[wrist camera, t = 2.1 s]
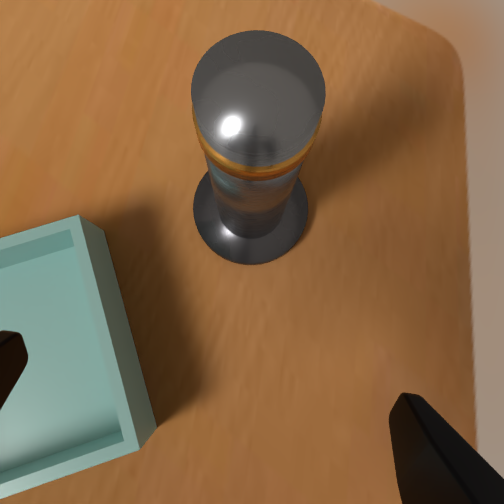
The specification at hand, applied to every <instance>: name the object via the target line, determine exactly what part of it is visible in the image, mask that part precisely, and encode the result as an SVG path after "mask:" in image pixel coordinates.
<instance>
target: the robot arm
mask: <svg viewBox="0 0 504 504" xmlns="http://www.w3.org/2000/svg"><path fill="white" fill-rule="evenodd" d="M27 363H28V352H27V349H26V346H25V343H24V340H23V336H22V335H21V334H20V333H19V332H14V331H8V330H2V331H0V410H1V409H2V407H3V405H4V403H5V402H6V400H7V398H8V397H9V395H10V393H11V391H12V390H13V388H14V386H15V385H16V383H17V381H18V379H19V378H20V376H21V374H22V373H23V371H24V369H25V367H26V365H27ZM389 427H390V434H391V441H392V449H393V456H394V463H395V470H396V477H397V483H398V488H399V492H400V496H401V500H402V504H504V479H503V478H502V477H501V476H500V475H499V474H498V473H497V472H496V471H495V470H494V469H493V468H492V467H491V466H490V465H489V464H488V463H487V462H486V461H485V460H484V459H483V458H482V457H481V456H480V455H479V454H478V453H477V452H476V451H475V450H474V449H473V448H472V447H471V446H470V445H469V444H468V443H467V442H466V441H465V440H464V439H463V438H462V437H461V436H460V435H459V434H458V433H457V432H456V431H455V430H454V429H453V428H452V427H451V426H450V425H449V424H448V423H447V422H446V421H445V420H444V419H443V418H442V417H441V416H440V415H439V414H438V413H437V412H436V411H435V410H434V409H433V408H432V407H431V406H430V405H429V404H428V403H427V402H426V401H425V400H424V399H423V398H422V397H421V396H420V395H417V394H411V393H402V394H400V396H399V397H398V399H397V401H396V403H395V404H394V406H393V408H392V410H391V411H390V415H389Z"/></svg>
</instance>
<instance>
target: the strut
mask: <svg viewBox="0 0 504 504" xmlns="http://www.w3.org/2000/svg"><path fill="white" fill-rule="evenodd" d="M191 96H192V114H193V121H194V125H195V129H196V133H197V137H198V140H199V143H200V146H201V148H202V150H203V151H204V154H205V158H206V162H207V166H208V171H209V175H210V179H211V183H212V187H213V192H214V196H215V200H216V204H217V209H218V213H219V217H220V219H221V221H222V223H223V225H224V226H225V227H226V228H227V229H228V230H229V231H230V232H231V233H233V234H234V235H236V236H238V237H241V238H246V239H256V238H261V237H263V236H266V235H268V234H269V233H271V232H272V231H273V230H274V229H275V228H276V227H277V226H278V224H279V223H280V221H281V218H282V216H283V213H284V211H285V208H286V205H287V203H288V200H289V197H290V195H291V192H292V190H293V187H294V184H295V182H296V179H297V177H298V174H299V171H300V169H301V166H302V163H303V161H304V159H305V158H306V156H307V155H308V153H309V152H310V150H311V147H312V145H313V143H314V140H315V138H316V135H317V133H318V130H319V127H320V123H321V118H322V111H323V107H324V104H325V96H326V94H325V83H324V78H323V75H322V72H321V70H320V68H319V65H318V64H317V62H316V61H315V59H314V58H313V56H312V55H311V54H310V53H309V52H308V51H307V50H306V49H305V48H304V47H303V46H302V45H300V44H299V43H297V42H296V41H294V40H292V39H290V38H289V37H286V36H284V35H281V34H278V33H274V32H269V31H258V30H254V31H245V32H240V33H236V34H233V35H230V36H228V37H226V38H224V39H222V40H221V41H219V42H217V43H216V44H215V45H213V46H212V47H211V48H210V49H209V50H208V51H207V52H206V53H205V54H204V55H203V57H202V58H201V60H200V61H199V63H198V65H197V67H196V69H195V72H194V75H193V79H192V84H191Z"/></svg>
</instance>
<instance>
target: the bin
mask: <svg viewBox="0 0 504 504" xmlns="http://www.w3.org/2000/svg"><path fill="white" fill-rule="evenodd" d="M2 330H8V331H14V332H19V333H20V334H21V335H22V336H23V340H24V343H25V346H26V349H27V352H28V363H27V365H26V367H25V369H24V371H23V373H22V374H21V376H20V378H19V379H18V381H17V383H16V385H15V386H14V388H13V390H12V391H11V393H10V395H9V397H8V398H7V400H6V402H5V403H4V405H3V407H2V409H1V410H0V499H2V498H4V497H7V496H10V495H13V494H16V493H19V492H21V491H24V490H27V489H30V488H33V487H36V486H38V485H41V484H44V483H47V482H50V481H53V480H55V479H58V478H61V477H64V476H67V475H70V474H72V473H75V472H78V471H81V470H84V469H87V468H89V467H92V466H95V465H98V464H101V463H104V462H106V461H109V460H112V459H115V458H118V457H121V456H123V455H126V454H129V453H132V452H135V451H138V450H140V449H141V448H142V446H143V445H144V444H145V443H146V441H147V440H148V439H149V437H150V436H151V435H152V434H153V432H154V431H155V430H156V429H157V426H156V422H155V418H154V415H153V411H152V407H151V404H150V400H149V396H148V392H147V389H146V385H145V381H144V378H143V374H142V370H141V366H140V363H139V359H138V355H137V352H136V348H135V344H134V341H133V337H132V333H131V329H130V326H129V322H128V318H127V315H126V311H125V307H124V303H123V300H122V296H121V292H120V289H119V285H118V281H117V278H116V274H115V270H114V266H113V263H112V259H111V255H110V252H109V248H108V244H107V241H106V237H105V233H104V230H102V229H101V228H99V227H97V226H96V225H94V224H93V223H91V222H89V221H88V220H86V219H85V218H83V217H81V216H80V215H76V216H73V217H69V218H66V219H63V220H59V221H56V222H53V223H49V224H46V225H43V226H39V227H36V228H33V229H29V230H26V231H23V232H19V233H16V234H13V235H10V236H6V237H3V238H0V331H2Z"/></svg>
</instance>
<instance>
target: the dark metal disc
mask: <svg viewBox="0 0 504 504" xmlns="http://www.w3.org/2000/svg"><path fill="white" fill-rule="evenodd" d="M193 212H194V219H195V223H196V226H197V229H198V231H199V233H200V235H201V237H202V239H203V240H204V241H205V243H206V244H207V245H208V246H209V247H210V248H211V250H212V251H214V252H215V253H216V254H218V255H219V256H221V257H222V258H224V259H226V260H229V261H231V262H234V263H238V264H243V265H258V264H264V263H268V262H270V261H273V260H275V259H277V258H279V257H281V256H282V255H284V254H285V253H286V252H288V251H289V250H290V249H291V248H292V247H293V246H294V244H295V243H296V242H297V240H298V239H299V237H300V236H301V234H302V232H303V230H304V227H305V224H306V221H307V215H308V202H307V196H306V193H305V190H304V188H303V185H302V183H301V182H300V180H299V178H298V177H297V179H296V182H295V184H294V187H293V190H292V192H291V195H290V197H289V200H288V203H287V205H286V208H285V211H284V213H283V216H282V218H281V221H280V223H279V224H278V226H277V227H276V228H275V229H274V230H273V231H272V232H271V233H269V234H268V235H266V236H263V237H261V238H256V239H246V238H241V237H238V236H236V235H234V234H233V233H231V232H230V231H229V230H228V229H227V228H226V227H225V226H224V225H223V223H222V221H221V219H220V217H219V213H218V209H217V204H216V200H215V196H214V192H213V187H212V183H211V179H210V175H209V171H208V172H207V173H206V174H205V175H204V177H203V178H202V180H201V181H200V183H199V185H198V187H197V190H196V193H195V197H194V203H193Z"/></svg>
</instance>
